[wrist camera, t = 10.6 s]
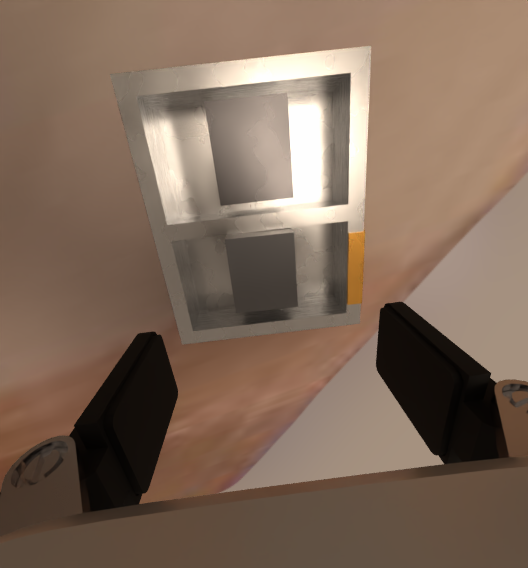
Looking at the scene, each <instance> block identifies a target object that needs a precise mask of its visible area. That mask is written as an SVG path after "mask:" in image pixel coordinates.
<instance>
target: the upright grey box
mask: <svg viewBox="0 0 528 568" xmlns="http://www.w3.org/2000/svg"><path fill="white" fill-rule="evenodd" d="M225 246H226V252H227V259H228V265H229V272H230V278H231V285H232V291H233V298H234V304H235V310H236V313H245V312H254V311H263V310H272V309H281V308H290V307H298V299H297V279H296V260H295V240H294V232H293V230H292V229H291V228H283V229H274V230H266V231H257V232H248V233H239V234H231V235H226V237H225Z"/></svg>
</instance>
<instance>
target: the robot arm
mask: <svg viewBox="0 0 528 568" xmlns="http://www.w3.org/2000/svg"><path fill="white" fill-rule="evenodd" d="M376 367H377V371H378V373H379V374H380V376H381V377H382V379H383V380H384V382H385V383H386V385H387V386H388V388H389V389H390V391H391V392H392V394H393V395H394V397H395V398H396V400H397V401H398V403H399V404H400V406H401V407H402V409H403V410H404V412H405V413H406V415H407V416H408V418H409V419H410V421H411V422H412V423H413V425H414V427H415V428H416V430H417V431H418V433H419V434H420V436H421V437H422V439H423V440H424V442H425V443H426V445H427V446H428V448H429V449H430V451H431V452H432V453H433V454H434V455H439V457H440V458H441V460H442V461H443V463H444V465H435V466H427V467H419V468H411V469H404V470H395V471H387V472H379V473H371V474H362V475H355V476H347V477H340V478H332V479H324V480H316V481H309V482H301V483H293V484H285V485H278V486H270V487H262V488H255V489H247V490H240V491H233V492H225V493H218V494H210V495H203V496H196V497H188V498H181V499H174V500H166V501H159V502H152V503H145V504H139V502H140V499H141V496H142V493H146V492H147V490H148V488H149V486H150V483H151V480H152V476H153V473H154V470H155V467H156V464H157V461H158V457H159V454H160V451H161V448H162V445H163V442H164V439H165V435H166V432H167V429H168V426H169V423H170V420H171V416H172V413H173V410H174V407H175V404H176V401H177V397H178V389H177V385H176V382H175V379H174V375H173V372H172V369H171V365H170V362H169V359H168V355H167V352H166V349H165V345H164V342H163V339H162V336H161V335H157V334H156V332H146V333H139V334H138V335H137V336H136V337H135V339H134V340H133V342H132V343H131V344H130V346H129V347H128V349H127V350H126V352H125V353H124V354H123V356H122V357H121V359H120V360H119V362H118V363H117V364H116V366H115V367H114V369H113V370H112V372H111V373H110V375H109V376H108V377H107V379H106V380H105V382H104V383H103V385H102V386H101V387H100V389H99V390H98V392H97V393H96V395H95V396H94V397H93V399H92V400H91V402H90V403H89V405H88V406H87V408H86V409H85V410H84V412H83V413H82V415H81V416H80V418H79V419H78V420H77V422H76V423H75V425H74V427H75V428H74V430H73V431H72V432H71V434H70V435H69V436H57V437H53V438H50V439H48V440H45V441H43V442H41V443H39V444H38V445H36V446H34V447H33V448H31V449H30V450H28V451H27V452H26V453H25V454H23V455H22V456H21V457H20V458H19V459H18V460H17V461H16V462H15V463H14V464H13V465H12V466H11V468H10V469H9V471H8V472H7V474H6V475H5V478H4V480H3V483H2V489H1V492H0V568H528V382H526V381H520V380H503V381H499V382H498V383H496V382H495V381H493V380H492V379H491V378H490V375H491V373H490V372H489V371H488V370H486V369H485V368H484V367H482V366H481V365H480V364H479V363H478V362H477V361H475V360H474V359H473V358H472V357H470V356H469V355H468V354H467V353H465V352H464V351H463V350H462V349H460V348H459V347H458V346H457V345H455V344H454V343H453V342H452V341H450V340H449V339H448V338H447V337H446V336H444V335H443V334H442V333H441V332H439V331H438V330H437V329H436V328H434V327H433V326H432V325H431V324H429V323H428V322H427V321H426V320H424V319H423V318H422V317H421V316H419V315H418V314H417V313H416V312H415V311H413V310H412V309H411V308H410V307H408V306H407V305H406V304H404V303H403V302H395V303H387V304H385V306H384V308H381V310H380V319H379V332H378V345H377V358H376Z"/></svg>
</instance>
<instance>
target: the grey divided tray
mask: <svg viewBox="0 0 528 568" xmlns="http://www.w3.org/2000/svg"><path fill="white" fill-rule="evenodd" d="M370 64H371V46H365V47H356V48H346V49H337V50H328V51H319V52H309V53H300V54H291V55H282V56H272V57H263V58H254V59H245V60H235V61H226V62H217V63H208V64H198V65H189V66H180V67H171V68H161V69H152V70H143V71H134V72H125V73H115V74H110V76H111V80H112V84H113V87H114V91H115V95H116V99H117V102H118V106H119V110H120V114H121V117H122V121H123V125H124V129H125V132H126V136H127V140H128V144H129V147H130V151H131V155H132V159H133V162H134V166H135V170H136V174H137V177H138V181H139V185H140V189H141V192H142V196H143V200H144V204H145V207H146V211H147V215H148V218H149V222H150V226H151V230H152V233H153V237H154V241H155V245H156V248H157V252H158V256H159V260H160V263H161V267H162V271H163V275H164V278H165V282H166V286H167V290H168V293H169V297H170V301H171V305H172V308H173V312H174V316H175V320H176V323H177V327H178V331H179V335H180V338H181V342H182V344H191V343H199V342H208V341H216V340H225V339H233V338H241V337H250V336H258V335H267V334H275V333H284V332H292V331H301V330H309V329H318V328H326V327H334V326H343V325H351V324H360V307H361V303H362V288H363V264H364V241H365V230H364V209H365V185H366V161H367V136H368V112H369V88H370ZM283 228H291V229H292V230H293V232H294V240H295V260H296V279H297V299H298V307H290V308H281V309H272V310H263V311H254V312H245V313H236V310H235V304H234V298H233V291H232V285H231V278H230V272H229V265H228V259H227V252H226V246H225V237H226V235H231V234H239V233H248V232H257V231H266V230H274V229H283Z"/></svg>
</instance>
